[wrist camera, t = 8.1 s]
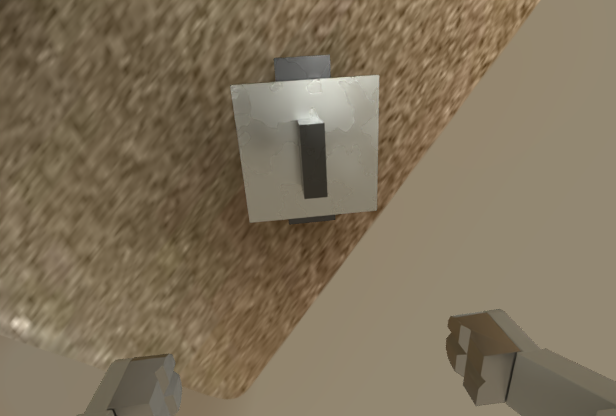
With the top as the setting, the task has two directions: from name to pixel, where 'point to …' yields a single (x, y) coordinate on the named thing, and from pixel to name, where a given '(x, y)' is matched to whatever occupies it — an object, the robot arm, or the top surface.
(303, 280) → the top surface
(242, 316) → the top surface
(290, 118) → the lid
